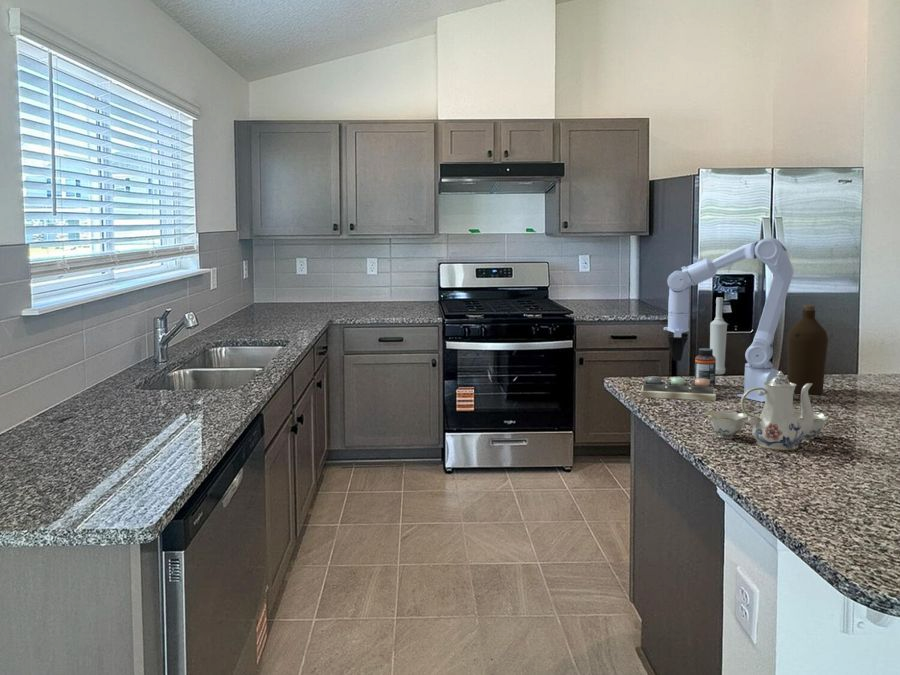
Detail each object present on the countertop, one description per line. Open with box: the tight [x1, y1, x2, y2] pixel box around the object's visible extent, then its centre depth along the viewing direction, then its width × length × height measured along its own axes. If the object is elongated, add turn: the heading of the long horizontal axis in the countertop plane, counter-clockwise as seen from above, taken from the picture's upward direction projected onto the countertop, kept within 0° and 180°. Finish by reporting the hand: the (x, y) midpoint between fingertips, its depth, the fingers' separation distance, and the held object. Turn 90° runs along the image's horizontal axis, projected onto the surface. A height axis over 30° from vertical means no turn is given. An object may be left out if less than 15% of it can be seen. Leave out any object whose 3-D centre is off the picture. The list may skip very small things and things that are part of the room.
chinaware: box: [702, 370, 837, 451], centre depth 168 cm, size 28×17×17 cm, turn 92°
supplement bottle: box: [694, 347, 716, 388], centre depth 232 cm, size 6×6×11 cm
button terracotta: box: [694, 378, 710, 387], centre depth 217 cm, size 4×4×2 cm
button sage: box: [670, 376, 687, 386], centre depth 218 cm, size 4×4×2 cm
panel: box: [640, 380, 717, 402], centre depth 219 cm, size 20×10×3 cm, turn 73°
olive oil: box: [786, 304, 829, 396], centre depth 221 cm, size 11×11×25 cm
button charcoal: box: [646, 375, 663, 385], centre depth 220 cm, size 4×4×2 cm
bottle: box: [709, 296, 728, 375], centre depth 253 cm, size 5×5×25 cm
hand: (677, 359), depth 224 cm, fingers open, 4 cm apart
